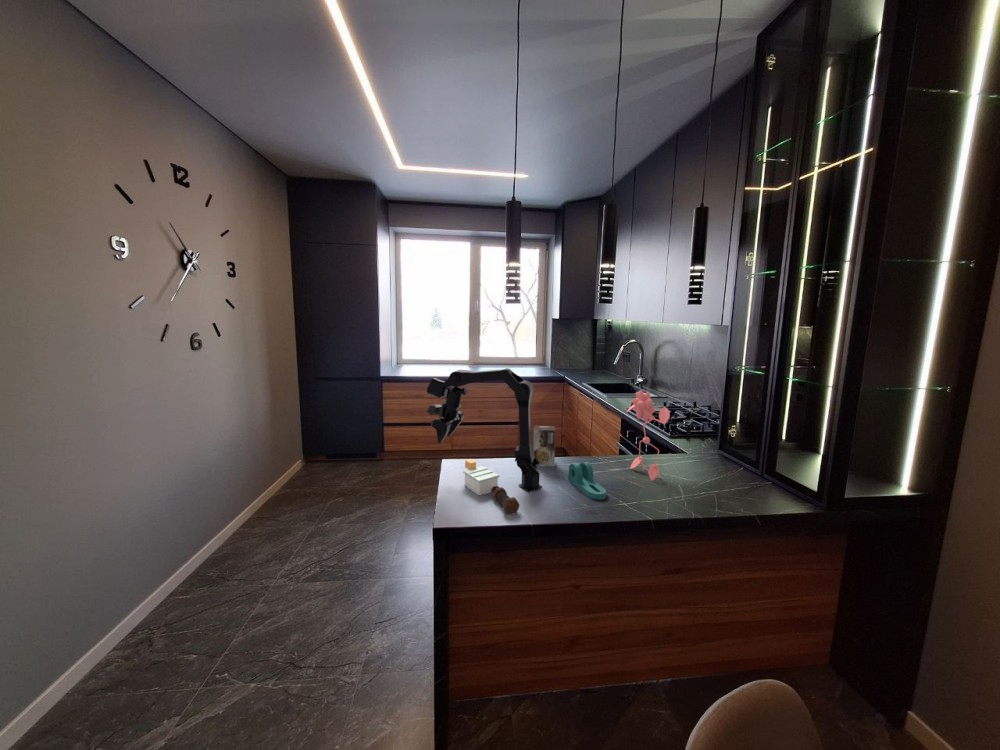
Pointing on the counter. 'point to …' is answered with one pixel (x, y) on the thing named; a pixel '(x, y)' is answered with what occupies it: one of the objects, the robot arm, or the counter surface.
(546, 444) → the coffee box
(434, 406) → the robot arm
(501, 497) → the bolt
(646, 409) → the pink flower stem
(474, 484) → the parts tub
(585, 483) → the bracket
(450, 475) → the counter surface
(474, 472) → the lid
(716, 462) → the counter surface
